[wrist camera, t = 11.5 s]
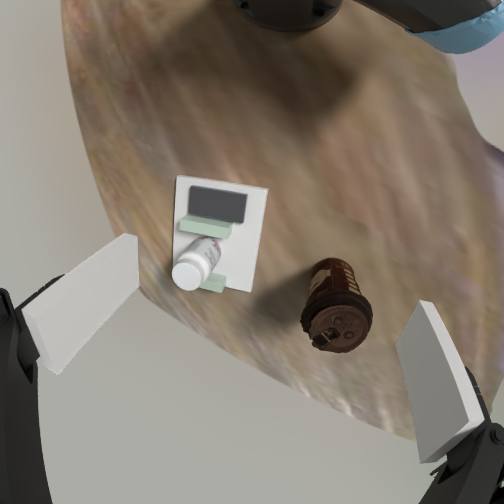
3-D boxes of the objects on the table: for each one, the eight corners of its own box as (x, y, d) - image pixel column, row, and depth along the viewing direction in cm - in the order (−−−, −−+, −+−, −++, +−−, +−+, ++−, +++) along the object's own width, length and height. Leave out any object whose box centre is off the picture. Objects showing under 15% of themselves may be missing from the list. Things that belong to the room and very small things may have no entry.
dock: (179, 174, 40) (169, 179, 37) (268, 188, 38) (264, 194, 35) (175, 271, 46) (166, 281, 43) (251, 289, 45) (247, 301, 42)
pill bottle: (189, 258, 44) (165, 284, 36) (196, 230, 42) (172, 253, 34) (217, 269, 44) (199, 298, 36) (226, 242, 41) (207, 268, 34)
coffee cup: (301, 298, 44) (297, 356, 32) (303, 249, 41) (301, 298, 29) (356, 300, 42) (368, 357, 31) (363, 251, 39) (382, 300, 27)
